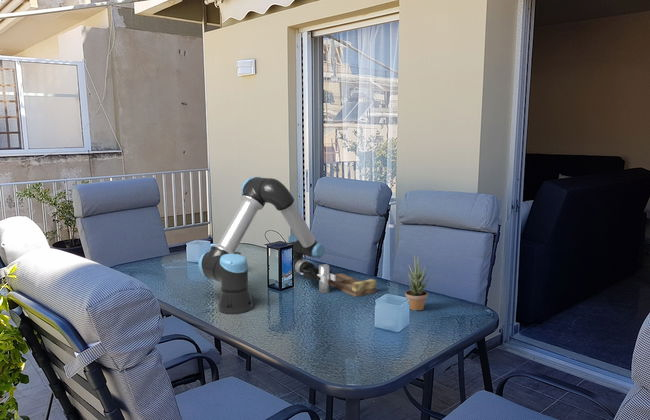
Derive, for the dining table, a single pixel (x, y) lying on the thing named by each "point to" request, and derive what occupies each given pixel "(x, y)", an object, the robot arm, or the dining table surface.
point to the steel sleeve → (324, 272)
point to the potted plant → (417, 288)
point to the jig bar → (353, 285)
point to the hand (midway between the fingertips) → (329, 279)
